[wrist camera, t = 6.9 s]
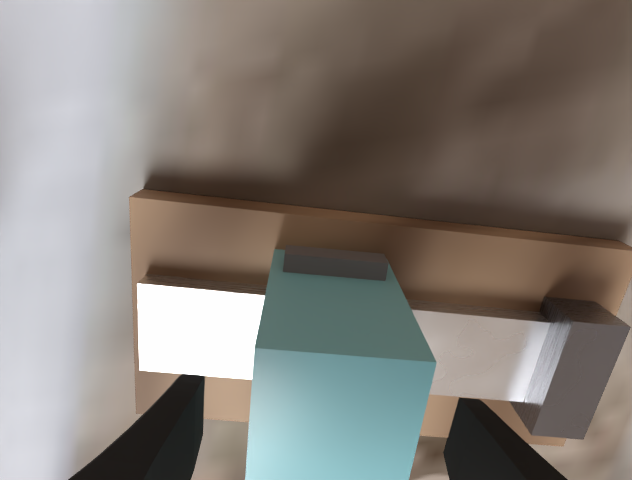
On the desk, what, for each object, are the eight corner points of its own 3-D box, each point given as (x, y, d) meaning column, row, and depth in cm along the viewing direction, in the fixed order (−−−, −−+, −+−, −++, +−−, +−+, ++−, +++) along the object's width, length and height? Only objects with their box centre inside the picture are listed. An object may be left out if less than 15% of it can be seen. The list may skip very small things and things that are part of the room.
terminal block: (389, 243, 15) (442, 339, 9) (362, 396, 17) (391, 551, 11) (275, 232, 14) (255, 323, 9) (263, 389, 17) (241, 544, 11)
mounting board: (618, 240, 16) (641, 252, 15) (547, 425, 19) (563, 446, 18) (142, 189, 15) (129, 197, 14) (146, 393, 18) (136, 413, 17)
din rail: (608, 302, 16) (645, 328, 14) (567, 406, 17) (596, 440, 15) (145, 256, 15) (124, 278, 13) (147, 371, 16) (129, 403, 14)
